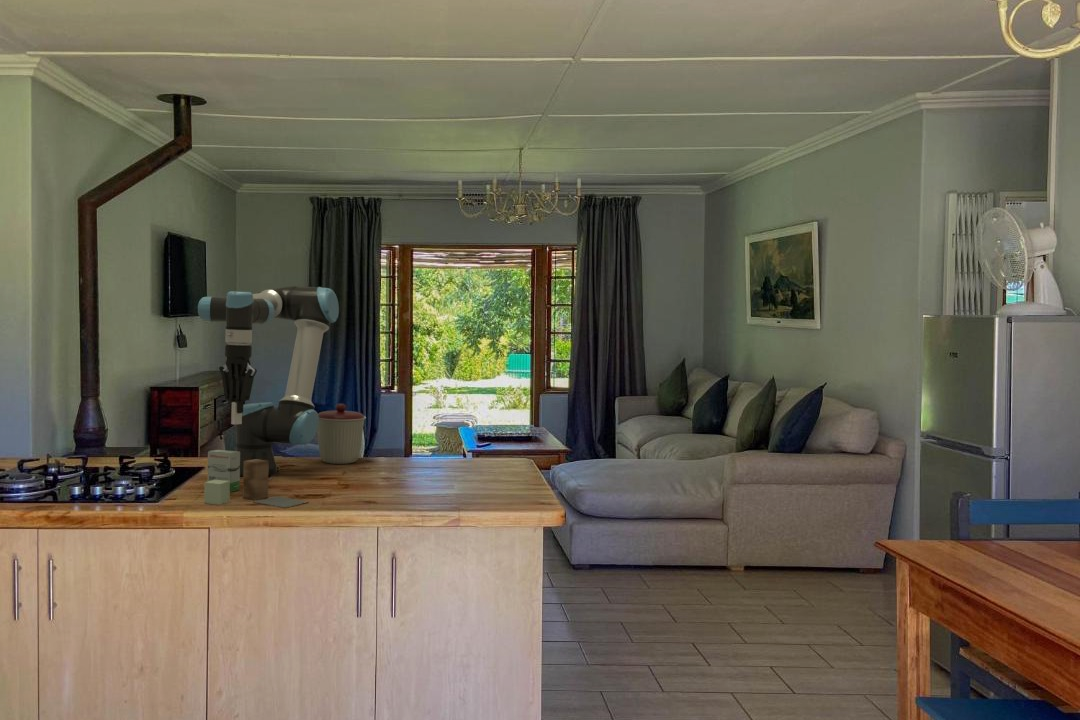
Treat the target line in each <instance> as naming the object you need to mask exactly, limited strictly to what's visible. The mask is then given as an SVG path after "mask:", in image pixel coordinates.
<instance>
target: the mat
mask: <svg viewBox="0 0 1080 720" xmlns="http://www.w3.org/2000/svg"><path fill="white" fill-rule="evenodd" d="M304 502H305V503H306V502H307V500H300V499H295V498H289V497H284V496H273V497H268V498H265V499H261V500H256V501H255V500H253V501H252V503H254V504H258V503H261V504H260V505H263V504H267V505H266V506H269V505H272V506H271V507H275V506H277V507H276V508H280V507H283V508H282V509H287V508H286V507H288V508H290V507H289V506H293V507H295V506H294V505H297V504H300V503H301V505H303V504H302V503H304ZM306 504H307V503H306ZM297 506H298V505H297Z"/></svg>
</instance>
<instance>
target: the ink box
mask: <svg viewBox="0 0 1080 720" xmlns="http://www.w3.org/2000/svg"><path fill="white" fill-rule="evenodd" d="M240 477H241V475H240V452H237V451H235V450H225V449H214V450H209V451H207V477H206V478H207V481H206V482H208V481H211V480H224V481H230V493H232V492H236V491H238V490H241V489H240V488H241V487H240V485H241V483H240V482H241V481H240V479H241V478H240Z"/></svg>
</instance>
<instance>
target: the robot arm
mask: <svg viewBox="0 0 1080 720" xmlns="http://www.w3.org/2000/svg"><path fill="white" fill-rule="evenodd" d="M339 305H340V304H339V300H338V297H337V295H336V293H335V291H334V290H333V289H331V288H329V287H322V286H317V287H315V286H295V285H294V286H293V285H289V286H283V287H276V288H271V289H269V288H268V289H265V290H262V291H261V292H260V293H252V292H251V291H235V290H234V291H228V292H227V293H226V296H212V295H211V296H204V297H201V298H200V300H199V302H198V304H197V314H198V317H199V318H200V319H201V320H202V321H206V322H211V323H212V322H219V323H221V322H223V323H225V340H224V341H225V343H227V344H225V345H224V357H226V360H225V364H223V365H222V366H219V369H218V370H219V372H220V374H221V380H222V386H223V393H224V398H225V400H228V401H229V403H230V408H229V409H230V410H229V411H230V413H231V415H230V416H231V418H230V424H231V425H235V427H236V429H235V450H234V451H237V452H240V477H241V476H242V477H243V467H244V461H247V460H253V459H260V460H266V461H269V472H268V476H270V475H271V476H272V475H275V474H277V472H278V465H277V463H276V459H275V455H274V451H273V443H274V444H276V443H277V444H286V445H293V446H296V445H300V446H301V445H308V444H309V443H310V442H312V441H313V439H314V438H315V437H316V434H317V433H318V432H317V429H318V425H319V420H318V419H319V416H318V414H319V413H318V412H317V411H316V410H315V405H314V403H313V402H312V397H313V393H314V388H315V387H314V386H315V380H316V377H317V370H318V364H319V359H320V355H321V354H320V353H321V349H322V342H323V339H324V338H323V337H324V333H326V332H328V331H329V330H330V325H331V324H333V323H335V322H337V320H338V318H339V313H340V308H339V307H340V306H339ZM273 319H281V320H288V321H293V322H294V325H295V327H296V328H297V331H296V337H295V342H294V347H293V353H292V356H291V363H290V367H289V373H288V378H287V383H286V389H285V393H284V397H282V398H281V399H279V401H278V406H277V407H275V406H274V402H271V401H267V402H266V401H265V402H258V403H257V402H255V403H247V404H246V403H245V402H246V401H249V400H250V397H251V394H252V393H251V392H252V388H253V383H254V378H255V376H256V374H257V372H258V370H257V369H256V368H253V367H252V366H251V361H250V359H251V357H252V355H253V353H252V351H253V348H252V347H253V346H252V345H251V344H252V343H253V324H255V325H256V324H258V325H259V324H260V325H263V324H266V323H267V324H268V323H269V322H270V321H272V320H273ZM244 403H245V404H244Z"/></svg>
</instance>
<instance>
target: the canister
mask: <svg viewBox="0 0 1080 720" xmlns="http://www.w3.org/2000/svg"><path fill="white" fill-rule="evenodd" d="M346 408H347V406H346V404H344V403H337V404H336V405H335V410H326V411H325V410H324V411H321V412H319V413H318V416H319V419H318V420H319V425H318V429H317V432H316V433H317V443H318V444H317V445H318V450H319V451H318V452H319V457H320V459H321V461H323V462H324V463H327V464H333V465H344V464H345V465H346V464H348V465H349V464H352V463H355V462H357V460H358V459H359V456H360V451H361V445H362V438H363V433H364V424H365V420H366V419H367V417H366V415H364V414H363V413H362V412H358V411H354V410H353V411H352V410H346Z"/></svg>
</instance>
